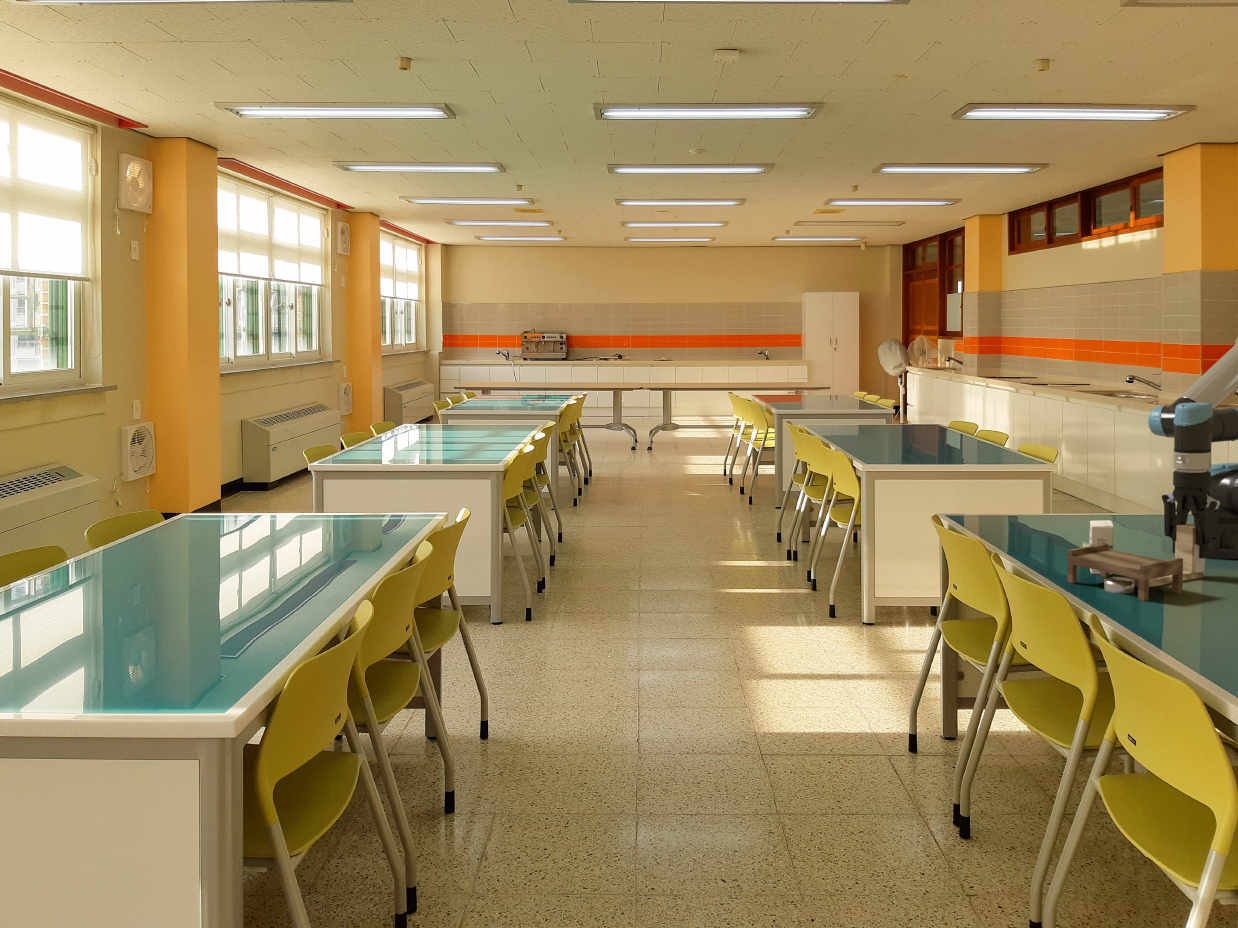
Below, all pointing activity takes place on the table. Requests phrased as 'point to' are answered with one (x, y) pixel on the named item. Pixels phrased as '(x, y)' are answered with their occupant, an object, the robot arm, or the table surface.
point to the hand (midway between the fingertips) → (1189, 569)
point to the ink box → (1101, 536)
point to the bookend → (1181, 555)
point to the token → (1119, 585)
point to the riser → (1125, 567)
